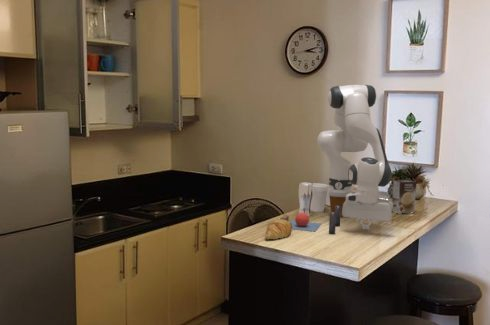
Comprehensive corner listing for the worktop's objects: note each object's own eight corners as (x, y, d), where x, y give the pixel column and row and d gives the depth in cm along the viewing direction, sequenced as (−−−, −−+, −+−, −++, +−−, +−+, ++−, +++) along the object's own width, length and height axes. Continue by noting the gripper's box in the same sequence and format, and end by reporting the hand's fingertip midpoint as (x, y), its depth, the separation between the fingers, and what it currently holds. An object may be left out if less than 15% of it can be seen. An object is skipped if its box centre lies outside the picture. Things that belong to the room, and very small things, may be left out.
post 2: (334, 224, 228) (335, 205, 227) (340, 225, 227) (341, 205, 226) (333, 226, 226) (334, 206, 225) (339, 226, 225) (340, 206, 224)
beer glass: (295, 213, 249) (296, 182, 247) (307, 212, 251) (308, 181, 249) (302, 216, 242) (303, 185, 240) (315, 215, 245) (316, 184, 243)
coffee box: (398, 214, 250) (400, 182, 248) (391, 211, 256) (393, 180, 254) (414, 213, 253) (416, 181, 251) (406, 210, 259) (408, 179, 257)
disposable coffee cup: (334, 218, 240) (335, 193, 238) (323, 214, 248) (324, 189, 246) (351, 217, 243) (353, 192, 242) (340, 212, 252) (341, 188, 250)
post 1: (329, 232, 216) (330, 211, 215) (335, 232, 215) (336, 212, 214) (328, 233, 214) (329, 212, 212) (334, 234, 213) (335, 213, 211)
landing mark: (291, 220, 234) (291, 220, 234) (321, 224, 229) (321, 223, 229) (283, 228, 221) (283, 227, 221) (315, 231, 216) (315, 231, 216)
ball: (310, 212, 226) (308, 225, 227) (297, 210, 227) (295, 223, 228) (309, 215, 220) (307, 229, 221) (295, 213, 221) (293, 226, 222)
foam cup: (330, 212, 252) (331, 186, 250) (312, 213, 249) (313, 187, 247) (321, 208, 261) (323, 183, 259) (305, 209, 258) (306, 183, 256)
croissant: (272, 251, 200) (281, 235, 197) (252, 236, 204) (261, 220, 201) (294, 237, 219) (303, 222, 216) (276, 223, 222) (284, 208, 219)
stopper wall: (284, 220, 234) (284, 215, 234) (288, 221, 233) (288, 215, 233) (276, 226, 223) (277, 221, 222) (281, 227, 222) (281, 221, 222)
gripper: (393, 197, 214) (391, 230, 215) (344, 193, 220) (342, 224, 222) (392, 200, 208) (390, 233, 210) (342, 196, 214) (340, 228, 216)
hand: (365, 229), depth 216 cm, fingers closed
